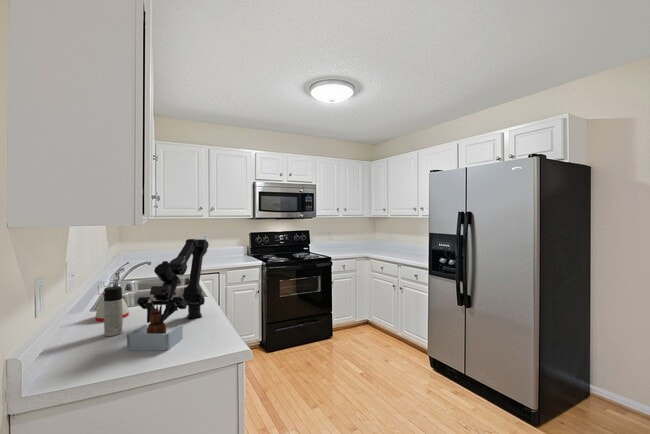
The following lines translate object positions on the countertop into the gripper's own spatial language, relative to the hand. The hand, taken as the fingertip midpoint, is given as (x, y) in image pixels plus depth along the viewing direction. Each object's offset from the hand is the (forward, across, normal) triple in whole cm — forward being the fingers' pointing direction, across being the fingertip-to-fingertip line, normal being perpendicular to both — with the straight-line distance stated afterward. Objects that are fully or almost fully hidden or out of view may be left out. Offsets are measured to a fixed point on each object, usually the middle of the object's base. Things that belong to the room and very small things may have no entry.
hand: (154, 322), depth 125 cm
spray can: (-1, -25, +14) cm, 29 cm away
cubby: (+6, 0, +7) cm, 9 cm away
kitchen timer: (-17, -42, +31) cm, 55 cm away
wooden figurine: (+5, 0, +7) cm, 8 cm away
